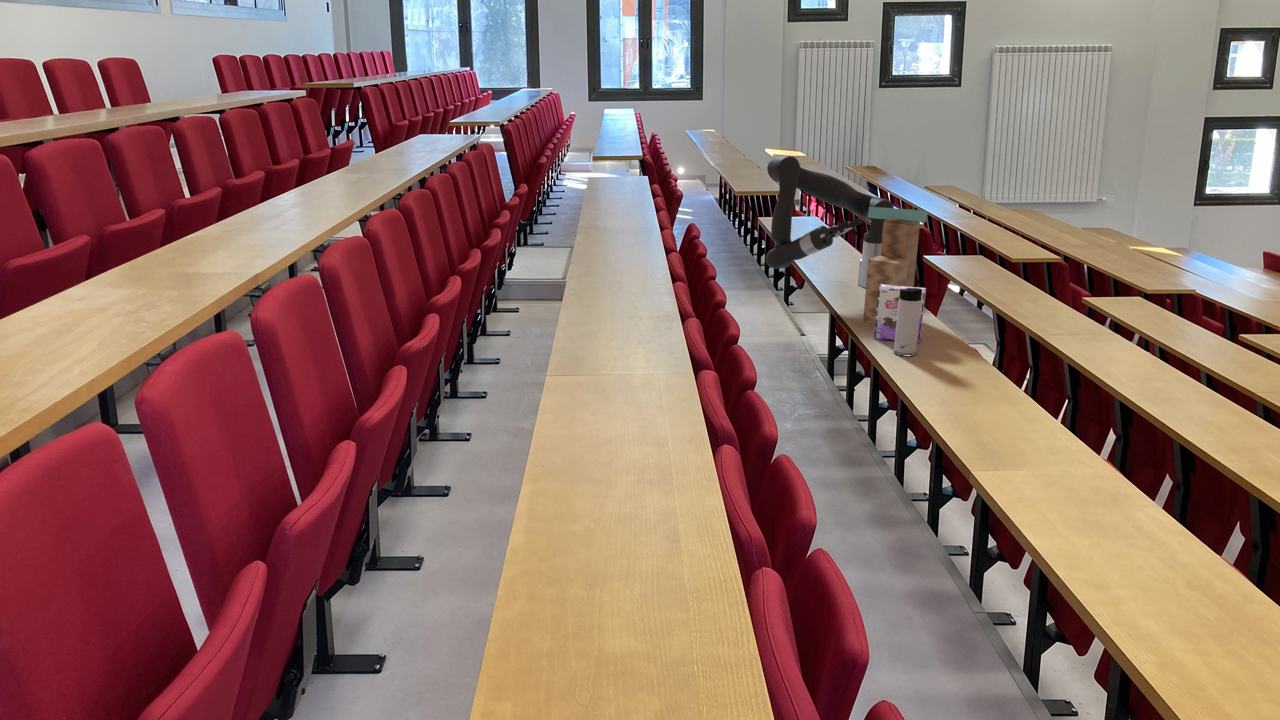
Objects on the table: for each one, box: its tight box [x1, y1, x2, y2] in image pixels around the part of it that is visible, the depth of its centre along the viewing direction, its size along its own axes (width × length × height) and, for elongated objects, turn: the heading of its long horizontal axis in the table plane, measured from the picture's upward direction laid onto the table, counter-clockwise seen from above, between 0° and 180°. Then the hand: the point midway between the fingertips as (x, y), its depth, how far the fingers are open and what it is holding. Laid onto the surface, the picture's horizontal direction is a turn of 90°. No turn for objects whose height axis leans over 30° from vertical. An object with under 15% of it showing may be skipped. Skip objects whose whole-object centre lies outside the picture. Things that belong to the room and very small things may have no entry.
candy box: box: [873, 284, 927, 344], centre depth 279 cm, size 14×6×16 cm, turn 70°
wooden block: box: [862, 255, 908, 325], centre depth 296 cm, size 10×8×21 cm
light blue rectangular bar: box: [868, 207, 929, 223], centre depth 296 cm, size 20×4×4 cm, turn 39°
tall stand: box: [881, 218, 921, 287], centre depth 300 cm, size 9×8×33 cm
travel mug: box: [893, 287, 922, 355], centre depth 265 cm, size 6×7×20 cm
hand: (854, 221), depth 306 cm, fingers open, 8 cm apart
